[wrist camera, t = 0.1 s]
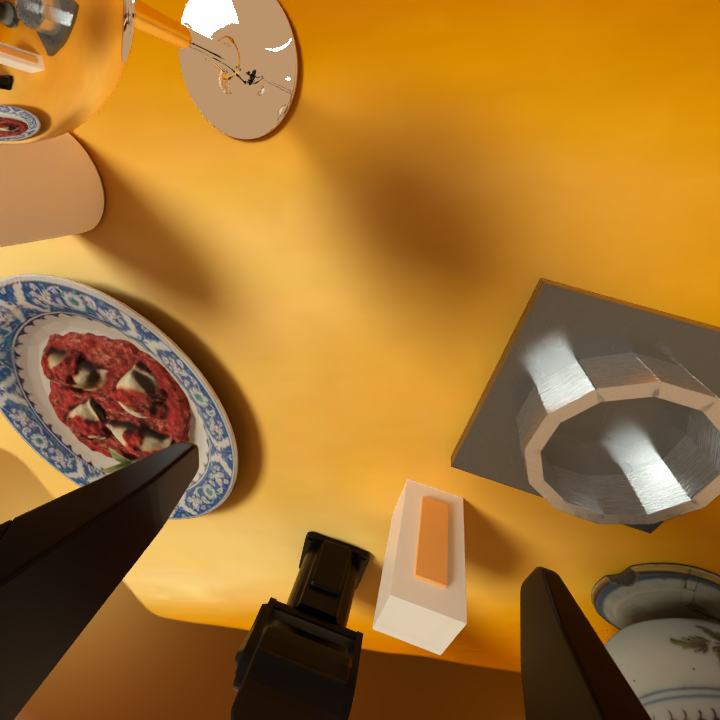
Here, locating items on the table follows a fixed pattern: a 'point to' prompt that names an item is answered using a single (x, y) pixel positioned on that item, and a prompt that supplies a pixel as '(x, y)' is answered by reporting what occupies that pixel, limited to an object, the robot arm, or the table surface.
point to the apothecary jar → (666, 637)
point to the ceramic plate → (106, 388)
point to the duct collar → (602, 410)
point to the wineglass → (111, 54)
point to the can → (48, 191)
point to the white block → (424, 570)
